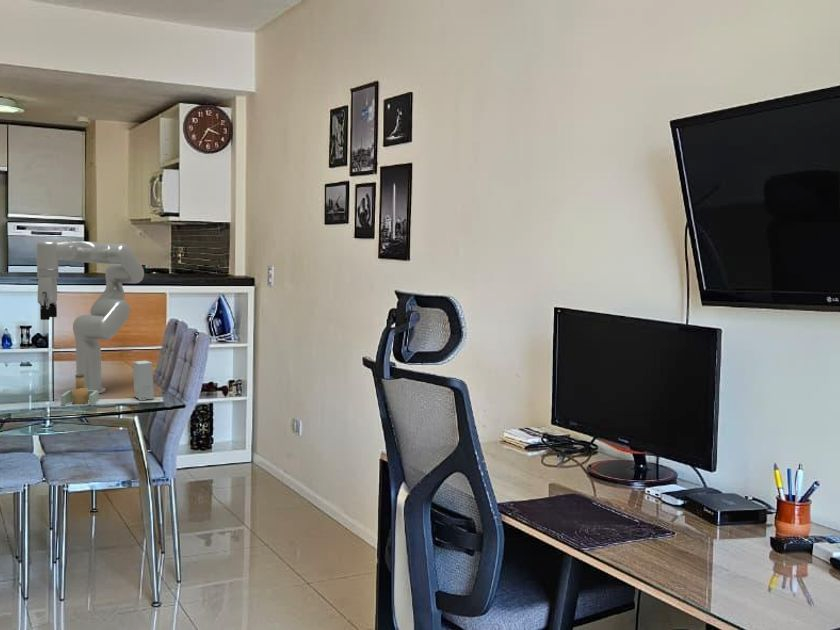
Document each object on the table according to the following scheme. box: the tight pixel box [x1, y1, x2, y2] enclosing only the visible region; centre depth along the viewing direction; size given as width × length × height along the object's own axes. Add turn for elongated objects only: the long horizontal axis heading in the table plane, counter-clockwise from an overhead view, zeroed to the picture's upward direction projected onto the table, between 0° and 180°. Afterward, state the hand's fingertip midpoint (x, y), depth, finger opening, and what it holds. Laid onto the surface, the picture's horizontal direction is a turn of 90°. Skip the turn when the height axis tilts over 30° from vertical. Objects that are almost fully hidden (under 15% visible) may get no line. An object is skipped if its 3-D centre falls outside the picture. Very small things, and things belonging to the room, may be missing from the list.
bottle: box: [71, 374, 89, 405], centre depth 343 cm, size 6×6×11 cm
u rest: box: [60, 389, 100, 407], centre depth 344 cm, size 10×11×4 cm
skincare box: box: [132, 360, 155, 401], centre depth 354 cm, size 8×6×15 cm
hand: (48, 318), depth 343 cm, fingers open, 9 cm apart
